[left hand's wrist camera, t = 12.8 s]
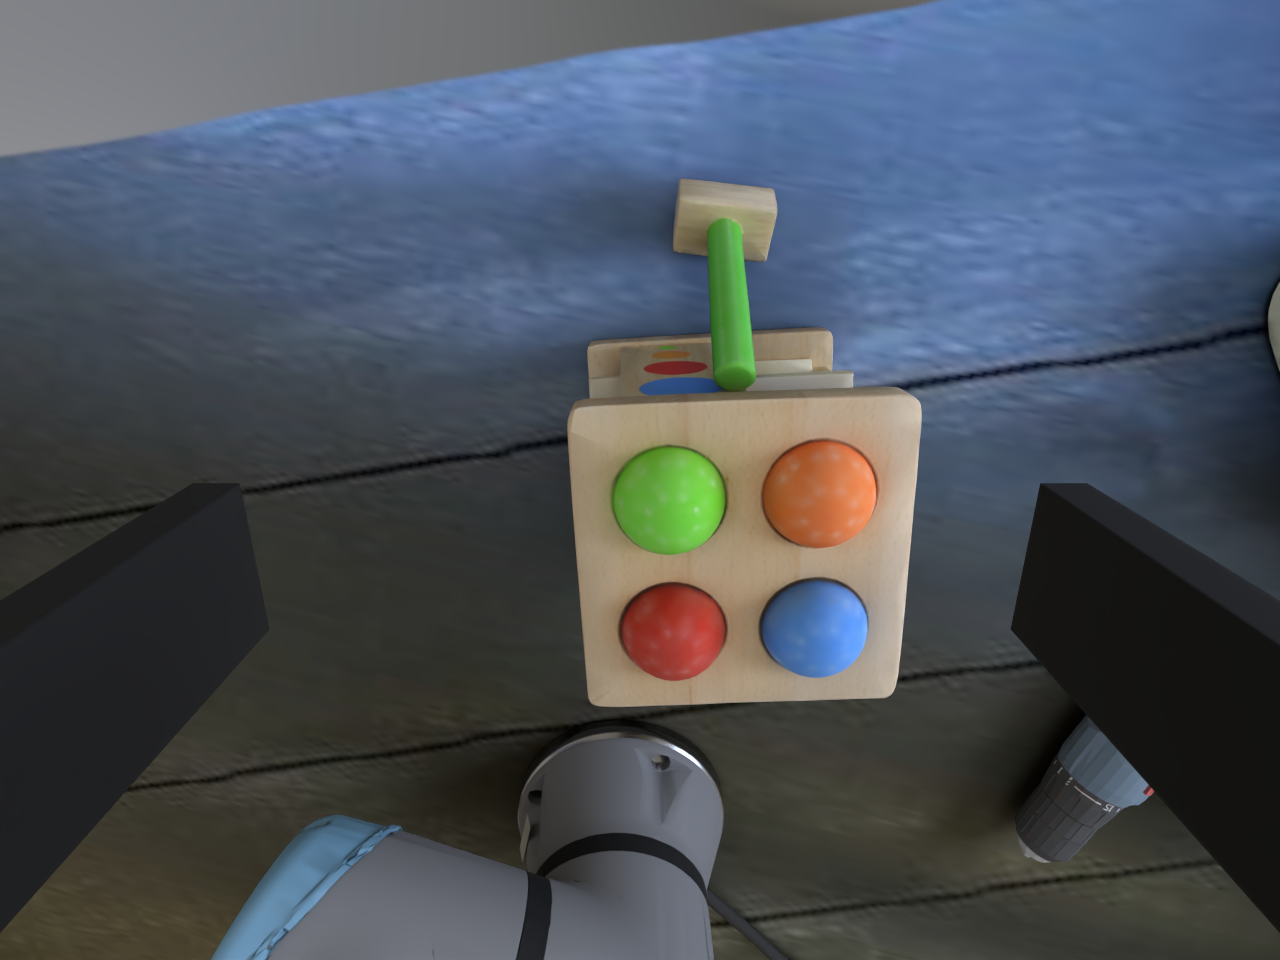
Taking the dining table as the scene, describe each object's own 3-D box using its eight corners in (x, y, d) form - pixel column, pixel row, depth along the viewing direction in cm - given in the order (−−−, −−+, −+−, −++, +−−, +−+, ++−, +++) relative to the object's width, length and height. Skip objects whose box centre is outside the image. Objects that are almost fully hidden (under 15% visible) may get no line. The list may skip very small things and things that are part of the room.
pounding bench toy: (577, 184, 40) (533, 165, 24) (835, 172, 40) (975, 144, 23) (603, 557, 48) (583, 741, 32) (818, 548, 48) (914, 728, 31)
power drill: (1189, 893, 59) (979, 813, 56) (1355, 720, 53) (1130, 621, 50) (1240, 957, 54) (1012, 873, 51) (1431, 773, 48) (1185, 666, 45)
